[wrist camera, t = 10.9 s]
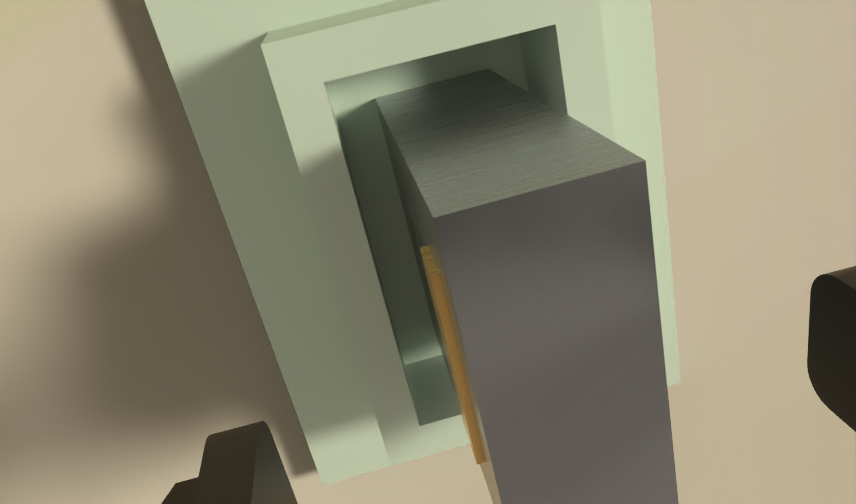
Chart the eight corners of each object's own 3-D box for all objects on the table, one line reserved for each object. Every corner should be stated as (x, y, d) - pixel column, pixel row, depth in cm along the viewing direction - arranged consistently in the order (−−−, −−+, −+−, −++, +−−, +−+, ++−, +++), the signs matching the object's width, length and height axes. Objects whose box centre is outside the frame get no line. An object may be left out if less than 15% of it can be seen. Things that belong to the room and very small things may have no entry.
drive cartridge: (368, 99, 17) (422, 220, 9) (488, 68, 18) (645, 160, 9) (429, 332, 20) (511, 582, 12) (531, 303, 20) (680, 530, 12)
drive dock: (133, -56, 16) (83, -61, 12) (618, -170, 17) (704, -207, 13) (322, 464, 23) (324, 559, 19) (666, 366, 23) (732, 440, 20)
